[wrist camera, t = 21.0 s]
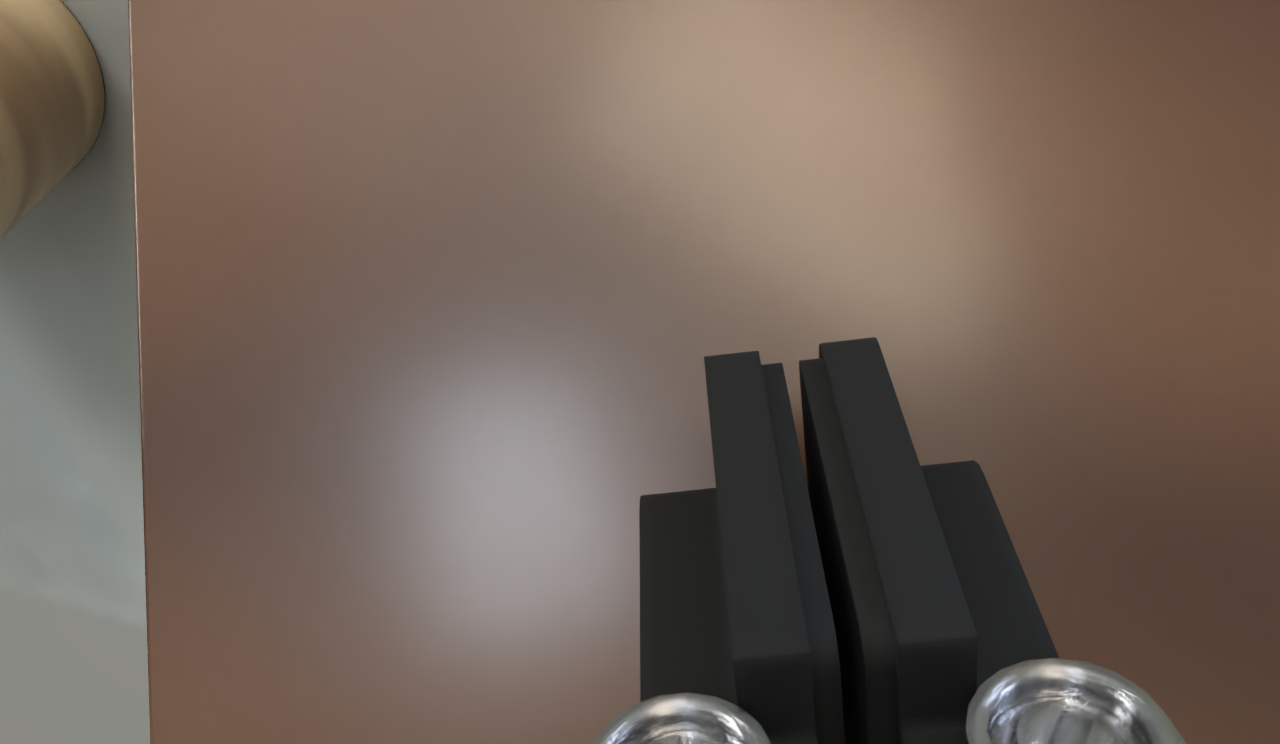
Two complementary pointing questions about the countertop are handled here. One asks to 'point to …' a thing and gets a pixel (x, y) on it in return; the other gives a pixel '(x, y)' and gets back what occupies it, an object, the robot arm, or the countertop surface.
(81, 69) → the pepper mill
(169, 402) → the chest lid
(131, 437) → the countertop surface
